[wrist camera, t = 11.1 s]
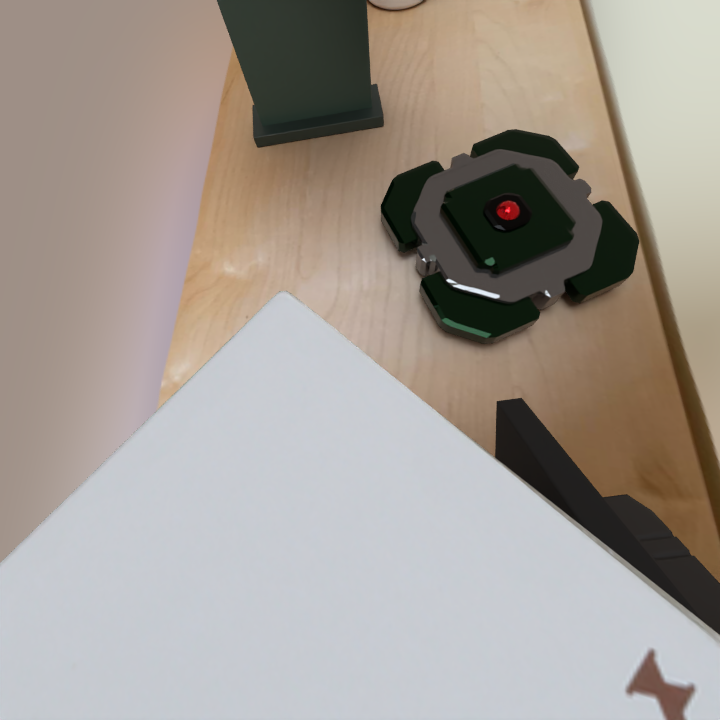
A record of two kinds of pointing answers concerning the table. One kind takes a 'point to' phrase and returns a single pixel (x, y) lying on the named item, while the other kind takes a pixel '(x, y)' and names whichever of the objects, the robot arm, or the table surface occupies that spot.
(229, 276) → the table surface
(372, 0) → the mug
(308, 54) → the door panel
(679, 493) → the table surface
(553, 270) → the four-lobed dark green device
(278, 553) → the white packaging box
